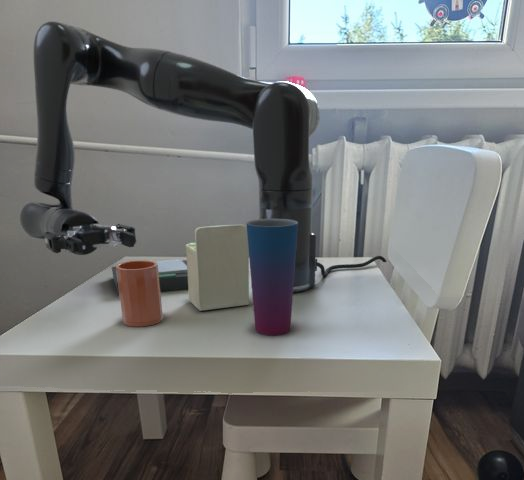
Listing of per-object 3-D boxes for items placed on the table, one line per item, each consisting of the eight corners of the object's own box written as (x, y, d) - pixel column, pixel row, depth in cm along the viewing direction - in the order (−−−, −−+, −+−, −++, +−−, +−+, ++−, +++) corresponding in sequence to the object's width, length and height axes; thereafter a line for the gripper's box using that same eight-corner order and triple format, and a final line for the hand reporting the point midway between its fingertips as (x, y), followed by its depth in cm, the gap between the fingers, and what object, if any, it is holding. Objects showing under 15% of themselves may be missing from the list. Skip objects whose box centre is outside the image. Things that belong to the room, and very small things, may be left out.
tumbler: (159, 312, 79) (154, 259, 76) (165, 323, 74) (160, 267, 71) (121, 316, 77) (114, 262, 74) (125, 328, 72) (117, 271, 69)
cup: (300, 323, 73) (302, 219, 68) (290, 339, 67) (291, 227, 62) (256, 319, 75) (254, 217, 69) (242, 335, 69) (239, 225, 63)
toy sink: (234, 293, 88) (232, 217, 83) (250, 305, 82) (248, 224, 77) (187, 299, 85) (182, 221, 80) (200, 312, 79) (194, 228, 73)
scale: (187, 271, 103) (186, 257, 102) (201, 287, 92) (200, 271, 91) (113, 278, 99) (111, 263, 98) (118, 296, 88) (116, 279, 86)
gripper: (29, 213, 86) (57, 224, 74) (108, 206, 94) (145, 215, 82) (37, 256, 89) (65, 274, 77) (113, 246, 97) (150, 260, 85)
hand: (107, 244), depth 80 cm, fingers open, 8 cm apart
